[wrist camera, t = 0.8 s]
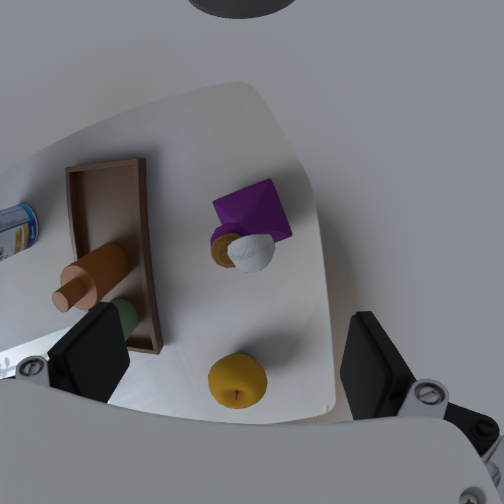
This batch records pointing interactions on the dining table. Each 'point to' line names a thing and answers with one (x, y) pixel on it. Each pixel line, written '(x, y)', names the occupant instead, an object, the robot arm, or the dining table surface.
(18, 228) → the beverage bottle
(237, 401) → the apple
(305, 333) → the dining table surface
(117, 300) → the green bottle
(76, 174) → the tray
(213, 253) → the perfume bottle
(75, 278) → the amber bottle
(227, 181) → the dining table surface
